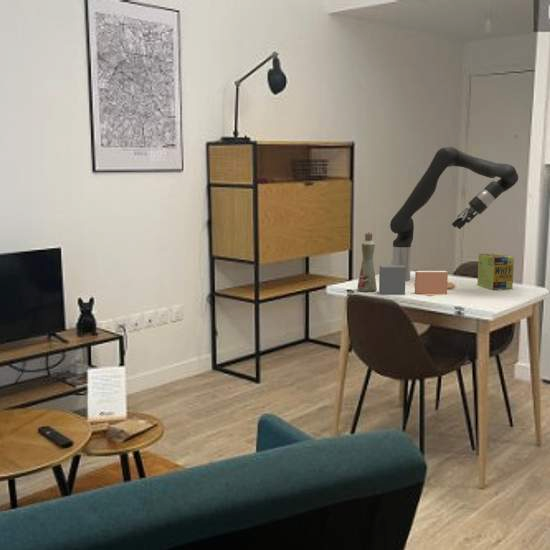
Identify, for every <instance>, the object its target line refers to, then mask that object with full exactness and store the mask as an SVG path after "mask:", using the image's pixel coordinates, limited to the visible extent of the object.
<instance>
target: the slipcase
mask: <svg viewBox="0 0 550 550" xmlns="http://www.w3.org/2000/svg"><path fill="white" fill-rule="evenodd" d="M378 275H379V276H378V277H379V279H378V283H379V284H378V292H380V293H379V295H383V296H385V295H387V296H388V295H392V296H395V295H396V296H398V295H401V296H402V295H403V296H405V295H406V280H405V278H406V267H405V266H404V265H391V264H390V265H389V264H388V265H386V264H385V265H384V264H383V265H379V274H378Z"/></svg>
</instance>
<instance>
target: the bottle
mask: <svg viewBox="0 0 550 550" xmlns="http://www.w3.org/2000/svg"><path fill="white" fill-rule="evenodd" d="M372 239H373V232H370V231H368V232H365V233H364V240H363V241H362V243H361V250H362V259H361V260H362V261H361V266H360V271H359V276H358V281H357V282H358V283H357V291H359V292H361V293H373V292H376V291H377V290H378V288H377V280H376V275H375V274H376V273H375V267H374V264H375V263H374V251H375V247H376V243H375V242H374V241H373V240H372Z"/></svg>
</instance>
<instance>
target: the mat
mask: <svg viewBox="0 0 550 550" xmlns="http://www.w3.org/2000/svg"><path fill="white" fill-rule="evenodd" d="M421 295H422V296H426V297H434V296H435V295H436V296H442V295H443V294H421ZM443 296H444V295H443Z"/></svg>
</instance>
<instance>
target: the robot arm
mask: <svg viewBox="0 0 550 550" xmlns="http://www.w3.org/2000/svg"><path fill="white" fill-rule="evenodd" d="M448 167H449V168H450V167H460V168H464V169H468V170H470V171H471V172H473V173H474V174H476V175H477V174H478V175H479V176H483V177H486V178H489V179H494V178H496V177H497V178H500V179H498V180H497V181H495V180H492V181H491V182H490V183H488V184H487V185H485V187H484V188H483V189H482V190H481V191H478V193H477V194H476V195H475V196H474V197H473V198H472V199H471V200H469V202H468V205H469V207H466V208H465V209H464V210H463V211H462V212H460V214H458V215H457V218H456V219H455V220H454V221H453V222H452V223H451V226H453V228H457V229H459V230H461V229H462V228H463V227H464V226H465V225H467V224H469V223H471V222H472V220H474V218H475V217H477V216H478V215H482V214H483V213H484V212H485V211H486V210H487V209H488V208H489V207H490V206H491V205H492V204H493V203H494V201H495V200H497V198H499V196H500V195H502V194H503V193H504V192H506V191H508V190H510V189H511V188H513V186H515V185H516V184H517V182H518V181H519V175H518V172H517V169H516V168H515V167H514V166H513V165H510V164H508V163H501V162H500V163H498V162H497V163H496V162H493V161H489V160H486V159H483V158H478V157H476V156H472V155H470V154H467V153H465V152H463V151H462V150H459V149H457V148H455V147H453V146H446V147H445V146H444V147H441V148H439V149H438V150H437V152H436V153H435V154H434V157H433V158H432V160H431V162H430V164H429V166H428V168H427V170H426V171H425V172H424V174H423V175H422V176H421V178H420V179H419V181H418V182H417V183H416V185H415V187H414V188H413V189H412V191H411V193H410V194H409V196H408V198H407V199H406V200H405V202H404V204H403V205H402V206H401V207H400V208H399V210H398V211H397V212H396V213H395V214H394V216H393V217H392V219H391V221H390V224H389V229H390V230H391V232H392V233H394V234H397V236H396V237H395V239H394V240H393V241H392V260H391V263H390V265H404V266H405V267H406V278H405V281H410V280H411V263H412V261H411V260H412V258H411V257H412V253H411V252H412V242H413V240H414V229H415V228H414V227H415V226H414V220H413V216H414V215H415V213H417V212H418V211H419V210H420V209H421V208H423V207H424V206H425V205H426V204H427V203H429V201H430V199H431V198H432V196H433V195H434V193H435V192H436V189H437V187H438V182H439V179H440V177H441V175H442V174H443V173H444V171H445V170H446V169H447V168H448Z"/></svg>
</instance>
